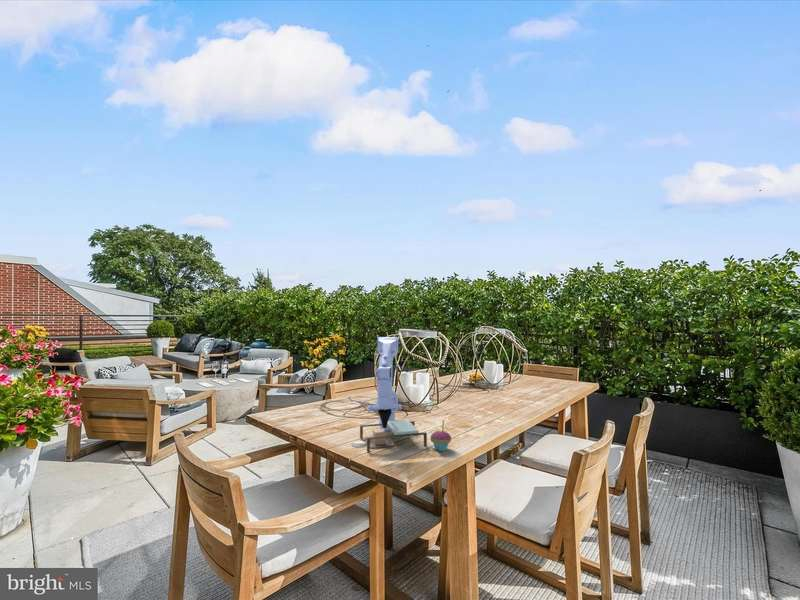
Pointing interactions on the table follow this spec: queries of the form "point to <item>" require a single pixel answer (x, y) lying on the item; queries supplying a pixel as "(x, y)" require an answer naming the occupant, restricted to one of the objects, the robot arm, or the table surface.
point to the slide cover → (402, 427)
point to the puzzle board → (389, 442)
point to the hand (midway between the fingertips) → (384, 427)
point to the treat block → (379, 433)
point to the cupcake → (441, 439)
